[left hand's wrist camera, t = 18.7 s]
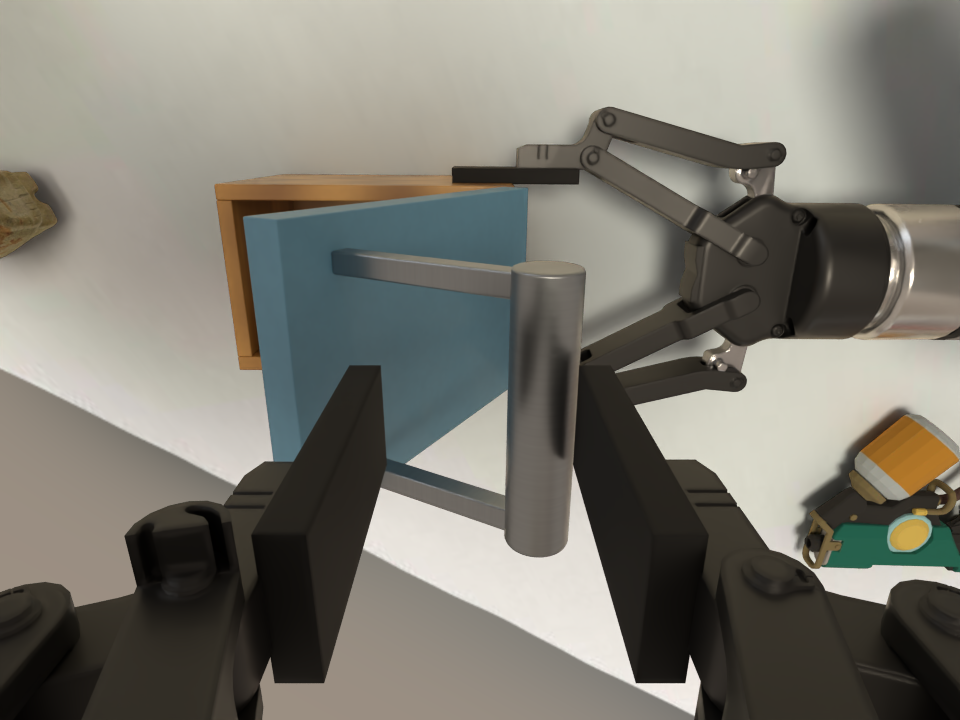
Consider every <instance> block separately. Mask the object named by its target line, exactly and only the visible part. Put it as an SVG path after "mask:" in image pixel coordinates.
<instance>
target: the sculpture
mask: <svg viewBox="0 0 960 720" xmlns="http://www.w3.org/2000/svg"><path fill="white" fill-rule="evenodd" d="M37 191H38V187H37V185H36V183H35V181H34V180H33V179H32V178H31V176H30V175H29V174H28V173H27V172H13V173H11V172H9V171H1V170H0V258H2V257H4V256H6V255H8V254H10V253H11V252H13V251H15V250H16V249H17V248H19V247H20V246H22V245H23V244H24V243H26V242H27V241H29V240H30V239H31V238H33V237H35V236H36V235H38V234H40V233H42V232H43V231H45V230H46V229H49V228H51V227H53V226H54V225H55V224H56V223H57V218H56V216H55V214H54V213H53V211H52V209H51V207H50V206H49V205H48V204H46V203H42V202H40V201H39V200H38V199H37V198H36V197H35V195H34V194H35V193H36V192H37Z"/></svg>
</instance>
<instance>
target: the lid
mask: <svg viewBox="0 0 960 720" xmlns="http://www.w3.org/2000/svg"><path fill="white" fill-rule="evenodd" d="M527 206H528V188H522V187H498V188H489V189H480V190H471V191H462V192H454V193H445V194H436V195H427V196H419V197H410V198H401V199H392V200H383V201H375V202H366V203H357V204H348V205H339V206H331V207H322V208H313V209H304V210H296V211H287V212H278V213H269V214H260V215H252V216H245V217H243V222H244V230H245V238H246V245H247V253H248V261H249V269H250V277H251V285H252V293H253V301H254V309H255V317H256V325H257V333H258V341H259V349H260V356H261V364H262V372H263V380H264V388H265V396H266V404H267V412H268V420H269V428H270V436H271V444H272V452H273V460H274V462H294V460H295V458H296V456H297V455H298V453H299V451H300V449H301V448H302V446H303V444H304V443H305V441H306V439H307V437H308V436H309V434H310V432H311V431H312V429H313V427H314V425H315V424H316V422H317V420H318V419H319V417H320V415H321V413H322V412H323V410H324V408H325V406H326V405H327V403H328V401H329V400H330V398H331V396H332V394H333V393H334V391H335V389H336V388H337V386H338V384H339V382H340V381H341V379H342V377H343V375H344V374H345V372H346V370H347V369H348V367H349V365H381V377H382V393H383V409H384V425H385V441H386V457H387V466H386V469H385V473H384V476H383V480H382V483H381V488H384V489H387V490H390V491H393V492H396V493H398V494H401V495H404V496H407V497H410V498H413V499H416V500H419V501H422V502H424V503H427V504H430V505H433V506H436V507H439V508H442V509H445V510H448V511H450V512H453V513H456V514H459V515H462V516H465V517H468V518H471V519H473V520H476V521H479V522H482V523H485V524H488V525H491V526H494V527H497V528H499V529H502V530H505V531H504V536H505V540H506V542H507V544H508V545H509V546H510V547H511V548H512V549H513V550H515V551H516V552H518V553H520V554H522V555H526V556H530V557H548V556H552V555H555V554H557V553H559V552H560V551H561V550H563V548H564V547H565V546H566V544H567V541H568V529H569V515H570V500H571V485H572V471H573V456H574V441H575V425H576V409H577V393H578V377H579V365H580V353H581V338H582V324H583V309H584V294H585V280H586V271H585V268H584V267H582V266H579V265H577V264H573V263H568V262H559V261H529V262H526V236H527ZM507 389H508V409H507V449H506V490H505V496H504V495H501V494H498V493H495V492H492V491H489V490H485V489H482V488H479V487H476V486H473V485H470V484H466V483H463V482H460V481H457V480H454V479H451V478H447V477H444V476H441V475H438V474H435V473H432V472H428V471H425V470H422V469H419V468H416V467H413V466H409V465H406V464H405V463H407V462H408V461H409V460H411V459H412V458H414V457H415V456H416V455H418V454H419V453H420V452H422V451H423V450H425V449H426V448H427V447H429V446H430V445H432V444H433V443H434V442H436V441H437V440H438V439H440V438H441V437H443V436H444V435H445V434H447V433H448V432H449V431H451V430H452V429H454V428H455V427H456V426H458V425H459V424H460V423H462V422H463V421H465V420H466V419H467V418H469V417H470V416H472V415H473V414H474V413H476V412H477V411H478V410H480V409H481V408H483V407H484V406H485V405H487V404H488V403H489V402H491V401H492V400H494V399H495V398H496V397H498V396H499V395H500V394H502V393H503V392H505V391H506V390H507Z"/></svg>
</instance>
